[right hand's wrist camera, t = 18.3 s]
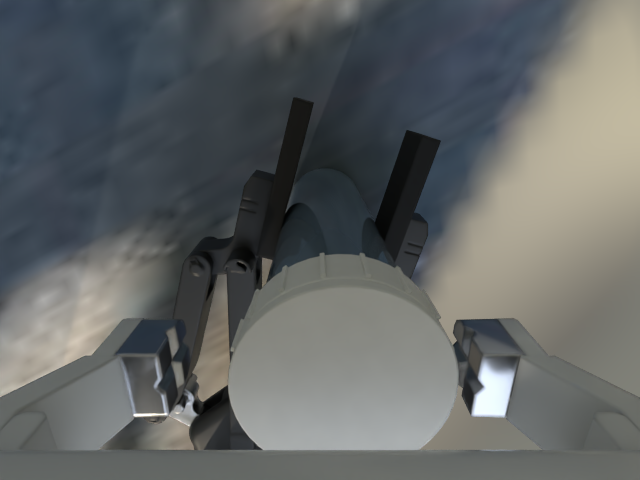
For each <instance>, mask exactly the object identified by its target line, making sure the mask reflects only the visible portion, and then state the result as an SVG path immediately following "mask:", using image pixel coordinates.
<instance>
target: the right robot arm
mask: <svg viewBox="0 0 640 480" xmlns="http://www.w3.org/2000/svg"><path fill="white" fill-rule="evenodd" d="M186 334H187V331H186V325H185V322H184V321H183V320H182V319H147V318H146V319H144V318H127V319H124V320H122V321H121V322H120V323H119V324H118V326H117V327H116V328H115V329H114V330H113V331H112V333H111V334H110V335H109V336H108V337H107V338H106V339H105V341H104V342H103V343H102V344H101V345H100V346H99V347H98V349H97V350H96V351H95V352H94V353H93V354H92V356H84V357H82V358H80V359H78V360H76V361H74V362H71V363H69V364H67V365H65V366H63V367H61V368H59V369H57V370H55V371H53V372H51V373H49V374H47V375H45V376H43V377H41V378H39V379H37V380H35V381H33V382H31V383H29V384H27V385H25V386H23V387H21V388H19V389H17V390H15V391H13V392H10V393H8V394H6V395H4V396H2V397H0V480H640V398H639V397H637V396H635V395H633V394H631V393H629V392H627V391H625V390H623V389H621V388H619V387H617V386H615V385H613V384H611V383H609V382H607V381H605V380H603V379H601V378H599V377H597V376H595V375H593V374H591V373H589V372H587V371H585V370H583V369H581V368H579V367H577V366H575V365H572V364H570V363H568V362H566V361H564V360H562V359H560V358H558V357H556V356H548V354H547V353H546V352H545V351H544V350H543V349H542V348H541V346H540V345H539V344H538V343H537V342H536V341H535V339H534V338H533V337H532V336H531V335H530V334H529V333H528V331H527V330H526V329H525V328H524V327H523V326H522V324H521V323H520V322H519V321H518V320H516V319H514V318H502V319H471V320H456V322H455V325H454V330H453V334H454V336H455V338H456V340H457V341H456V342H455V344H454V345H453V347H454V350H455V355H456V358H457V364H458V371H459V378H458V385H459V386H461V387H462V388H463V391H462V397H463V400H464V402H465V404H466V406H467V408H468V410H469V412H470V414H471V416H481V417H506V419H507V420H508V421H509V422H510V423H512V424H513V425H514V426H515V427H516V428H518V429H519V430H520V431H521V432H522V433H523V434H525V435H526V436H527V437H528V438H529V439H531V440H532V441H533V442H534V443H535V444H536V445H538V446H539V447H540V448H541V449H542V450H98V449H99V448H100V447H101V446H103V445H104V444H105V443H106V442H107V441H108V440H110V439H111V438H112V437H113V436H114V435H116V434H117V433H118V432H119V431H120V430H121V429H123V428H124V427H125V426H126V425H127V424H129V423H130V422H131V421H132V420H133V419H134V417H158V416H169V415H170V412H171V410H172V408H173V406H174V404H175V402H176V400H177V398H178V391H177V388H178V387H179V386H181V385H182V384H184V382H185V380H186V378H187V376H188V372H189V367H190V350H189V347H188V346H187V345H186V343H185V342H184V341H183V340H184V338H185V336H186Z"/></svg>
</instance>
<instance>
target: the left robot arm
mask: <svg viewBox="0 0 640 480" xmlns="http://www.w3.org/2000/svg"><path fill="white" fill-rule="evenodd" d="M313 104H314V103H313V102H310V101H307V100H303V99H300V98H293V102H292V106H291V110H290V114H289V118H288V123H287V127H286V131H285V135H284V140H283V144H282V148H281V152H280V156H279V161H278V165H277V169H276V173H275V175H274V174H271V173H267V172H263V171H260V170H256V171H255V172H254V173H253V175H252V176H251V177H250V179H249V180H248V181H247V183H246V184H245V186H244V190H243V195H242V200H241V204H240V209H239V214H238V218H237V223H236V228H235V232H234V236H232V237H230V238H226V239H217V238H215V237H205V238H203V239H202V240H201V241H200V242H199V244H198V245H197V246H196V247H195V248H194V250H193V251H192V252H191V253H190V255H189V256H188V257H187V258H186V260H185V261H184V263H183V267H182V272H181V278H180V283H179V288H178V293H177V298H176V304H175V309H174V314H173V319H182V320H183V321H184V322H185V325H186V331H187V334H186V336H185V338H184V340H183V341H184V342H185V343H186V345H187V346H188V347H189V350H190V367H189V372H188V376H187V378H186V380H185V382H184V384H182V385H181V386H179V387H178V388H177V391H178V398H177V400H176V402H175V404H174V406H173V408H172V410H171V412H170V415H169V416H170V417H172V418H174V419H176V420H178V421H179V422H181V423H183V424H185V425H187V426H189V427H190V429H189V436H190V439H191V441H192V443H193V446H194V450H263V449H261V448H260V447H259V446H258V445H257V444H256V443H255V442H254V441H253V440H252V439H251V438H250V437H249V436H248V435H247V434H246V432H245V431H244V430H243V428H242V427H241V425H240V424H239V422H238V420H237V418H236V416H235V414H234V411H233V409H232V406H231V402H230V398H229V393H228V385H227V386H226V387H224V388H223V389H221V390H220V391H218V392H217V393H215V394H214V395H213V396H211V397H210V398H208V399H207V400H205V401H204V402H202V401H200V399H199V398H198V390H199V384H198V383H197V376H196V375H195V374H193V373H192V372H193V370H194V368H195V366H196V363H197V361H198V358H199V355H200V350H201V346H202V342H203V337H204V333H205V328H206V324H207V320H208V315H209V311H210V307H211V302H212V298H213V294H214V289H215V285H216V280H217V276H218V275H219V274H227V292H228V319H229V346H230V350H231V346H232V343H233V340H234V337H235V335H236V332H237V329H238V326H239V323H240V320H241V319H245V316H246V313H247V311H248V309H249V306H250V304H251V302H252V299H253V296H254V293H255V291H256V290H257V289H259V290H261V289H262V257H263V258H267V259H271V260H273V257H274V253H275V250H276V246H277V242H278V239H279V235H280V232H281V228H282V224H283V221H284V217H285V213H286V209H287V205H288V201H289V197H290V194H291V190H292V186H293V182H294V178H295V174H296V170H297V166H298V162H299V158H300V154H301V151H302V147H303V143H304V139H305V135H306V131H307V127H308V123H309V119H310V115H311V111H312V107H313ZM440 142H441V141H440V140H437V139H434V138H431V137H428V136H425V135H422V134H419V133H415V132H412V131H409V130H406V133H405V136H404V139H403V142H402V145H401V148H400V151H399V154H398V157H397V160H396V163H395V165H394V168H393V171H392V174H391V177H390V180H389V183H388V186H387V189H386V192H385V195H384V198H383V200H382V203H381V206H380V209H379V212H378V215H377V218H376V221H375V224H376V226H377V228H378V230H379V232H380V234H381V236H382V238H383V240H384V242H385V244H386V246H387V248H388V250H389V252H390V254H391V256H392V258H393V260H394V262H395V264H396V266H398V267H400V268H401V270H402V272H403V274H404V275H406V276H407V277H408V278H409V279H411V277H412V274H413V272H414V269H415V266H416V264H417V261H418V259H419V255H420V254H421V251H422V249H423V246H424V244H425V241H426V239H427V236H428V223H427V222H426V221H425V220H424V219H423V217H422V216H421V215H420V214H417V213H414V211H415V208H416V205H417V203H418V200H419V197H420V195H421V192H422V189H423V187H424V184H425V181H426V179H427V176H428V173H429V171H430V168H431V165H432V163H433V160H434V157H435V155H436V152H437V149H438V147H439V144H440ZM232 355H233V352H232V351H230V362H231V359H232ZM143 418H144V419H145V420H146V421H147V422H149V423H152V424H159V423H162V422H163V421H164V420H165V419H166V418H167V416H158V417H143Z"/></svg>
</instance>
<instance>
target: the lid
mask: <svg viewBox="0 0 640 480" xmlns="http://www.w3.org/2000/svg"><path fill="white" fill-rule="evenodd" d="M440 318H441V317H440V315H439V313H438V311H437V310H436V308H435V306H434V305H433V303H432V301H431V300H430V298H429V296H428V295H427V293H426V291H425V290H422V291H420V289H419V288H418V287H417V286H416V285H415V284H414V283H413V282H412V280H411V279H409V278H408V277H407V276H406V275H404V274H403V272H402V270H401V268H400V267H398V266H396V267H395V268H394V267H392V266H390V265H388V264H386V263H383V262H381V261H379V260H375V259H372V258H368V257H365V254H364V253H360V255H359V256H358V255H351V254H333V255H325V254H324V253H320V256H318V257H314V258H310V259H307V260H304V261H301V262H298V263H296V264H294V265H292V266H290V267H287V265H285V266H284V267H283V268H282V271H281V272H280V273H278V274H277V275H276V276H274V277H273V278H272V279H271V280H270V281H268V282H267V283H266V284H265V285H264V286H263V287H262V289H261V290H259V289H257V290H256V291H255V293H254V296H253V299H252V302H251V304H250V306H249V309H248V311H247V313H246V316H245V319H241V320H240V323H239V326H238V329H237V332H236V335H235V337H234V340H233V343H232V346H231V350H230V351H232V352H233V355H232V359H231V362H230V366H229V373H228V393H229V398H230V402H231V406H232V409H233V411H234V414H235V416H236V418H237V420H238V422H239V424H240V425H241V427H242V428H243V430H244V431H245V432H246V434H247V435H248V436H249V437H250V438H251V439H252V440H253V441H254V442H255V443H256V444H257V445H258V446H259V447H260V448H261V449H263V450H419V449H420V448H422V447H423V446H424V445H425V444H426V443H427V442H429V441H430V440H431V439H432V438H433V437H434V435H435V434H436V433H437V432H438V431H439V430H440V428H441V427H442V426H443V424H444V423H445V421H446V420H447V418H448V416H449V414H450V412H451V410H452V408H453V405H454V402H455V399H456V395H457V390H458V378H459V371H458V364H457V358H456V355H455V350H454V347H453V345H452V343H451V342H450V340H449V338H448V336H447V334H446V332H445V331H444V329H443V327H442V326H441V324H440V322H439V320H438V319H440Z"/></svg>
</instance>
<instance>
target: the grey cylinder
mask: <svg viewBox="0 0 640 480" xmlns="http://www.w3.org/2000/svg"><path fill="white" fill-rule="evenodd" d="M320 253H324V254H325V255H333V254H351V255H358V256H359V255H360V253H364V254H365V257H368V258H372V259H375V260H379V261H381V262H383V263H386V264H388V265H390V266H392V267H394V268H395V267H396V264H395V262H394V260H393V258H392V256H391V254H390V252H389V250H388V248H387V246H386V244H385V242H384V240H383V238H382V236H381V234H380V232H379V230H378V228H377V226H376V224H375V222H374V220H373V218H372V216H371V214H370V213H369V211H368V209H367V207H366V205H365V203H364V201H363V199H362V197H361V195H360V193H359V191H358V189H357V187H356V185H355V184H354V182H353V181H352V180H351V179H350V178H349V177H348V176H347V175H346V174H344V173H342V172H340V171H338V170H335V169H329V168H321V169H316V170H313V171H310V172H308V173H306V174H305V175H303V176H302V177H301V178H300V179H299V180H298V181H297V182H296V184H295V185H294V187H293V189H292V192H291V195H290V199H289V202H288V206H287V210H286V213H285V217H284V221H283V224H282V228H281V232H280V235H279V239H278V242H277V246H276V250H275V253H274V257H273V261H272V264H271V268H270V272H269V275H268V279H267V282H268V281H270V280H271V279H272V278H273V277H274V276H276V275H277V274H278V273H280V272H281V271H282V268H283V267H284V266H285V265H287V267H290V266H292V265H294V264H296V263H298V262H301V261H304V260H307V259H310V258H314V257H318V256H320Z"/></svg>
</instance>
